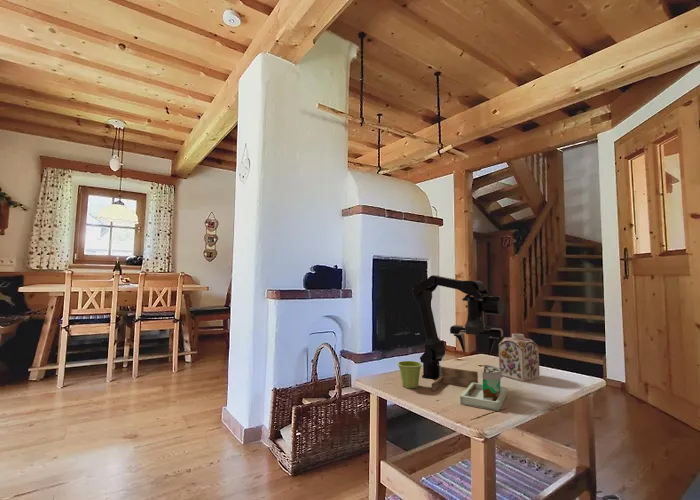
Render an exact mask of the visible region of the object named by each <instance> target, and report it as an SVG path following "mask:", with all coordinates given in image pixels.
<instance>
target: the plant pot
mask: <svg viewBox="0 0 700 500" xmlns="http://www.w3.org/2000/svg"><path fill="white" fill-rule="evenodd" d="M397 365H398V368H399V371H400V373H399V374H400V377H401V379H400V380H401V385H402V387H403V388H405V389H415V388H418V387H419V380H420V372H421V369H422V368H421V367H423V363H421V361H420V362H419V361H415V360H401V361H399V362H397Z"/></svg>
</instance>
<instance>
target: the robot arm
mask: <svg viewBox="0 0 700 500" xmlns="http://www.w3.org/2000/svg"><path fill="white" fill-rule="evenodd" d="M439 286H440V287H445V288H450V289H455V290H458V291H460V292H462V293H463V294H466V295H465V296H464V297H463V298H461V299H462V301H463V302H464V301H465V302H467V317H466V318H467V319H466V323H465V324H464V325H460V324H459V325H458V324H454V325H452V326H450V327H449V334H451V335H452V334H453V336H454V337H456V338H457V339H458V341H459V343H460V346H461V349H462V352H463V354H464V353H466V340H465V337H466V336H465V334H466V335H474V336H479V335H489V337H488V351H487V353H488V354H487V355H488V356H489V357H490V356H491V353H492V350H493V349H494V344H495V343H496V340H499V339H501V338H503V337H504V330H503V329H502V328H501V327H499V328H497V327H491V328H490V329H487V328H486V324H485V319H484V318H485V317H484V316H485V315H484V313H485V314H486V315H495V316H497V315H498V316H502V315H504V313H505V307H506V306H505V303H504V301H503V299H502V296H501V295H500V296H499V295H496V296H492V295H491V294H490V293H489V291H488V290H487V289H486V286H485V283H484V282H483V281H482V280H461V279H455V278H451V277H450V278H449V277H445V276H440V275H431V276H429V277H427V279H424V280H423V281H421V282H420V283H419V284H416V285H414V287H413V288H412V296H413V298H414V300H415V301H416V303H417V304H418V306H419V310H420V315H421V319H422V324H423V329H424V335H425V338H426V339H425V343H424V352H423V353H422V354H421V356H420V357H419V360H420V363H421V364H422V375H421V377H422V378H426V379H432V380H437V379H438V378H440V377H441V367H442V366H441V365H440V362H443V361H442V360H443V357H444V356H445V354H446V351H447V349H446V346H445V341H444V340H443V339H442V340H441V339H440V338H439V337H438V333H437V327H436V322H435V319H434V314H433V313H434V312H433V310H432V309H433V308H432V303H431V302H432V301H433V300H432V299H433V292H434V291H436V289H437V288H438V287H439Z"/></svg>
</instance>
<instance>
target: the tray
mask: <svg viewBox="0 0 700 500" xmlns="http://www.w3.org/2000/svg"><path fill="white" fill-rule="evenodd" d="M474 384H476V389H475V391H474V392H473V393H472V395H471V396H469V389H470V388H471V387H472V386H473V385H474ZM507 392H508V391H507V387H505V386H500V395H499V396H498V398H497V400H496V401H491V400H485V399H483V383H479V382H478V383H474V382H472V383H471V384H470V385H469V386H468V387H466V389H465V390H464V391H463V392H462V393H461V395H460V396H459V401H460V405H464V406H469V407H474V408H479V409H485V410H490V411H495V412H500V410H501V408H502V405H503V403H504V402H505V399H506V397H507V395H508V394H507Z"/></svg>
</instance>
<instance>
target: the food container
mask: <svg viewBox="0 0 700 500" xmlns="http://www.w3.org/2000/svg"><path fill="white" fill-rule="evenodd" d="M503 377H504V376H502V372H501V370H500V369H499V367H497V366H494V365H489V364H484V365H483V372H482V384H483V399H485V400H491V401H496V400H497V398H498V396H499V395H500V387H501V379H502V378H503Z"/></svg>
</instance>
